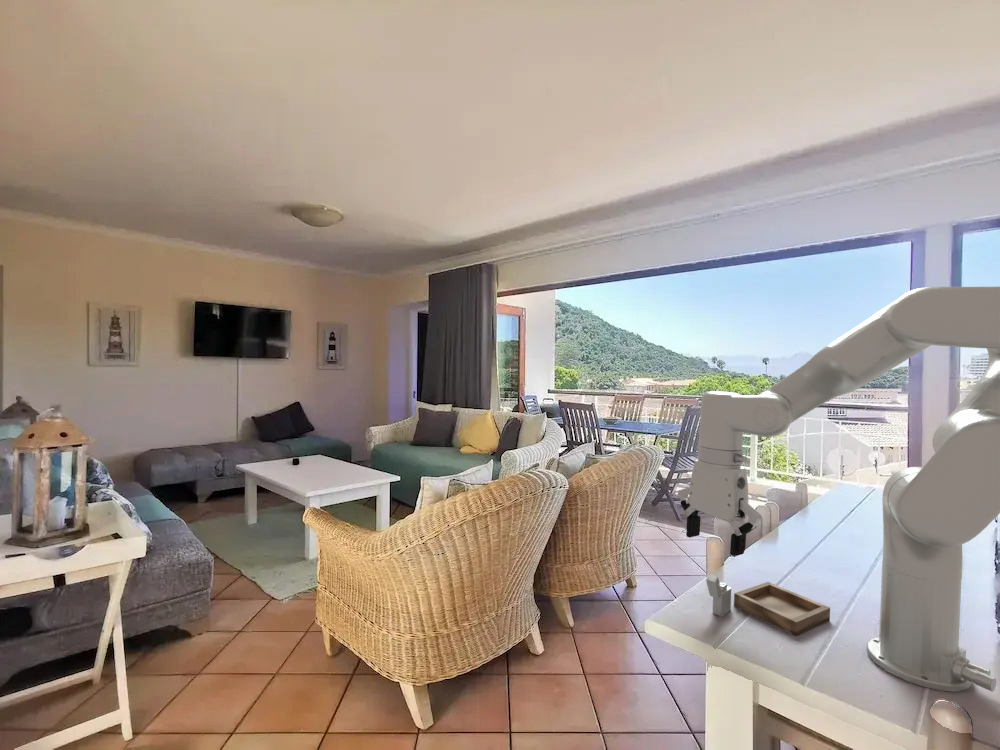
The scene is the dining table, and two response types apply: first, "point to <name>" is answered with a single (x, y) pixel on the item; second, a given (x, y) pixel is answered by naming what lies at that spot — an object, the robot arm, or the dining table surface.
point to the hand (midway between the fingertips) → (713, 545)
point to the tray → (782, 608)
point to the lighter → (719, 595)
